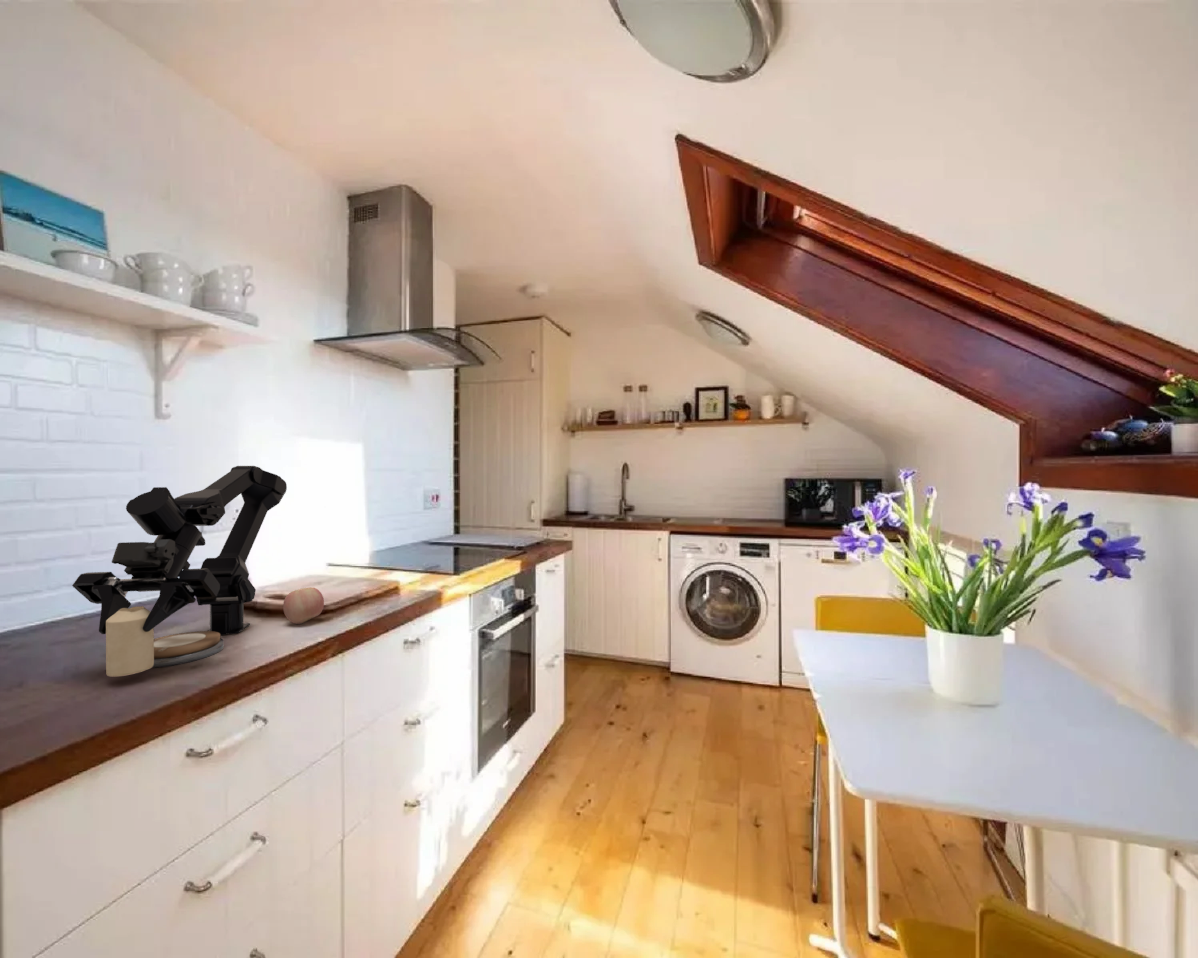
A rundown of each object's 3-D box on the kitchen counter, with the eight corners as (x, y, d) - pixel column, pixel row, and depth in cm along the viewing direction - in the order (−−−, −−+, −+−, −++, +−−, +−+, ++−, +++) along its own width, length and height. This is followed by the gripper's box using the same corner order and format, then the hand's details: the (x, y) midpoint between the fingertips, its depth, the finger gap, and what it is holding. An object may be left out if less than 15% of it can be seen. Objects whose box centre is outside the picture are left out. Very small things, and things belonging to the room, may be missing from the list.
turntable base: (157, 646, 93) (157, 640, 93) (235, 639, 97) (235, 634, 97) (111, 671, 81) (111, 664, 81) (202, 663, 85) (202, 656, 85)
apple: (327, 616, 114) (327, 583, 114) (319, 625, 106) (319, 589, 106) (288, 620, 111) (288, 585, 111) (277, 629, 104) (278, 592, 104)
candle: (123, 678, 74) (123, 613, 74) (96, 675, 75) (96, 611, 75) (162, 664, 79) (162, 604, 79) (136, 662, 81) (136, 602, 81)
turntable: (159, 639, 93) (159, 633, 93) (231, 634, 96) (231, 627, 96) (116, 661, 82) (116, 654, 82) (200, 654, 85) (200, 647, 85)
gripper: (81, 524, 79) (15, 608, 69) (210, 521, 83) (166, 601, 72) (119, 563, 87) (65, 645, 76) (235, 559, 91) (199, 637, 80)
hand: (123, 631), depth 76 cm, fingers closed on candle, 5 cm apart
